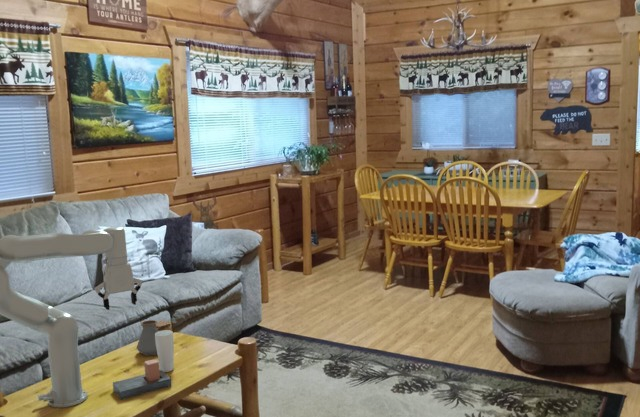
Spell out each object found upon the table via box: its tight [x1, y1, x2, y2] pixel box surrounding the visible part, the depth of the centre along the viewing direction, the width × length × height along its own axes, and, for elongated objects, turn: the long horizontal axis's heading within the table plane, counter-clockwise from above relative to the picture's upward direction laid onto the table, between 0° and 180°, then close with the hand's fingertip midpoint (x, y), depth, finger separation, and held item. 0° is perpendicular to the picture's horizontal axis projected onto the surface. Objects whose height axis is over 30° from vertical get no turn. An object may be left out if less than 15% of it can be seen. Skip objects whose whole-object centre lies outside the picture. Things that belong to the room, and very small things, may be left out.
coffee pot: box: [136, 319, 172, 356], centre depth 257 cm, size 21×12×15 cm, turn 48°
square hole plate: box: [112, 369, 172, 401], centre depth 225 cm, size 18×10×3 cm, turn 123°
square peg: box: [144, 358, 160, 382], centre depth 226 cm, size 4×4×9 cm
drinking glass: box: [155, 329, 175, 373], centre depth 240 cm, size 7×7×15 cm
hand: (120, 306), depth 230 cm, fingers open, 9 cm apart
